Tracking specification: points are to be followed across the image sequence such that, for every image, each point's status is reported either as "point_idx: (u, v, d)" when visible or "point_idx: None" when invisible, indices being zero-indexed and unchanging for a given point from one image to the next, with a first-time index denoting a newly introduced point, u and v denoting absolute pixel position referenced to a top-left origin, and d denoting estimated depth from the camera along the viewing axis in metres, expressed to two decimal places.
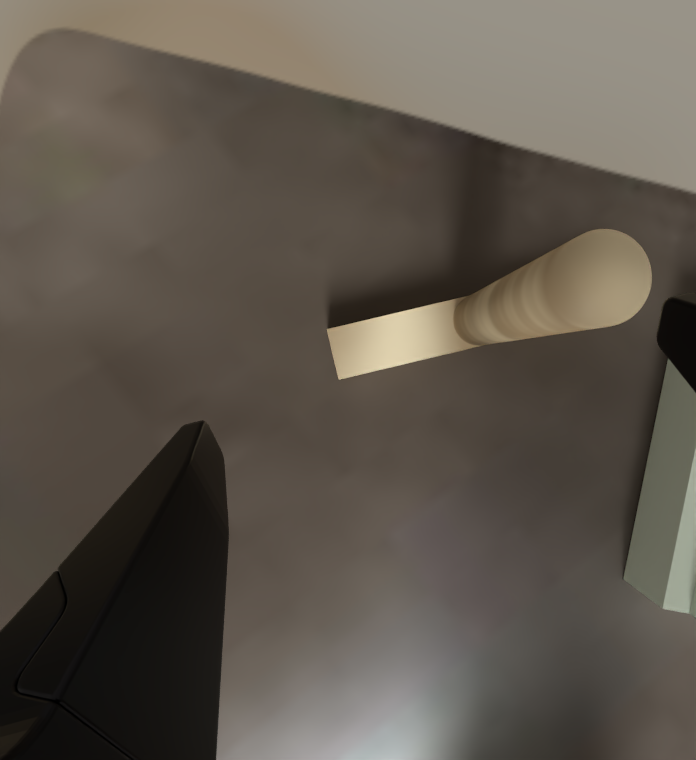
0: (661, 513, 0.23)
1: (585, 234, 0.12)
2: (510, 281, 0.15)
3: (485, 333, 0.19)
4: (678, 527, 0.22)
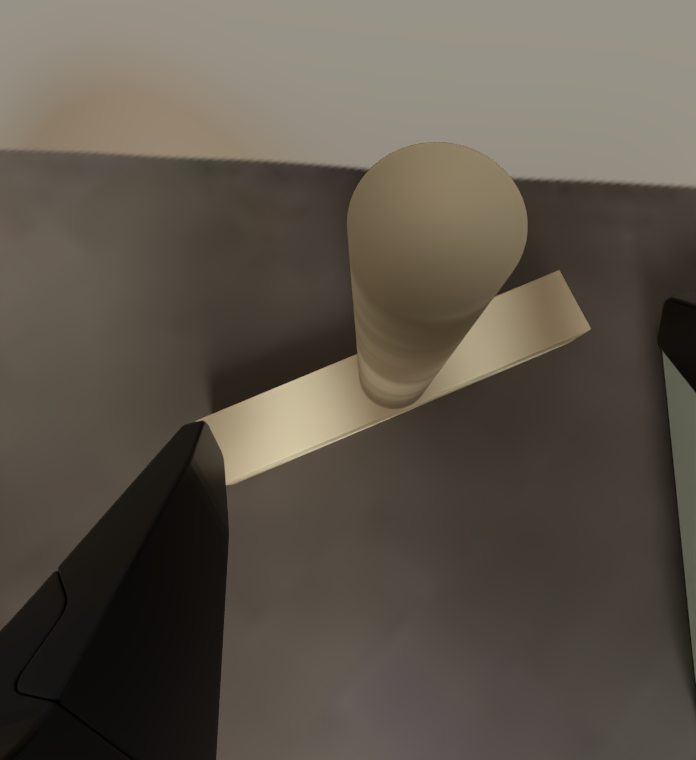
0: None
1: (388, 158, 0.07)
2: None
3: (377, 385, 0.13)
4: None
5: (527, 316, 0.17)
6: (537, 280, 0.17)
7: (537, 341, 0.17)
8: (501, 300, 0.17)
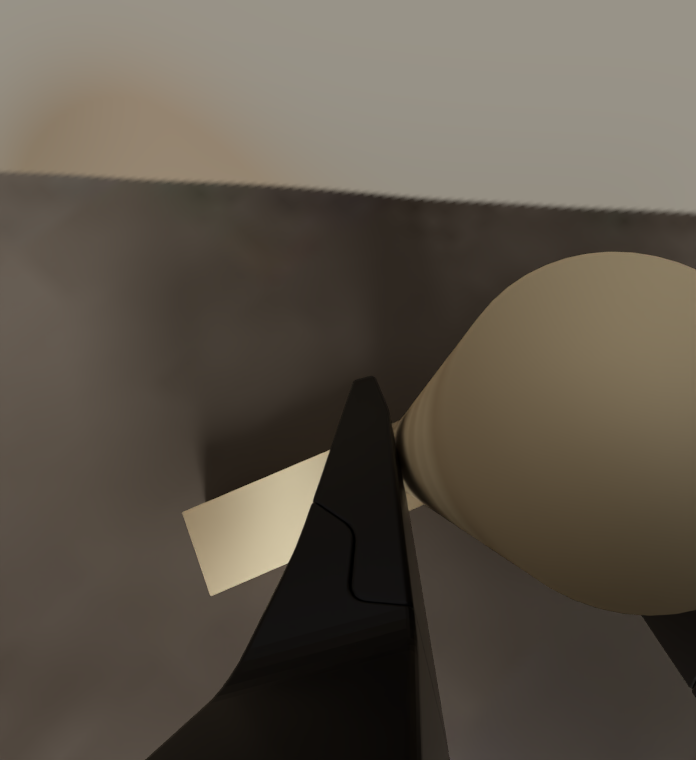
0: None
1: (523, 283, 0.03)
2: (408, 419, 0.07)
3: None
4: None
5: None
6: None
7: None
8: None
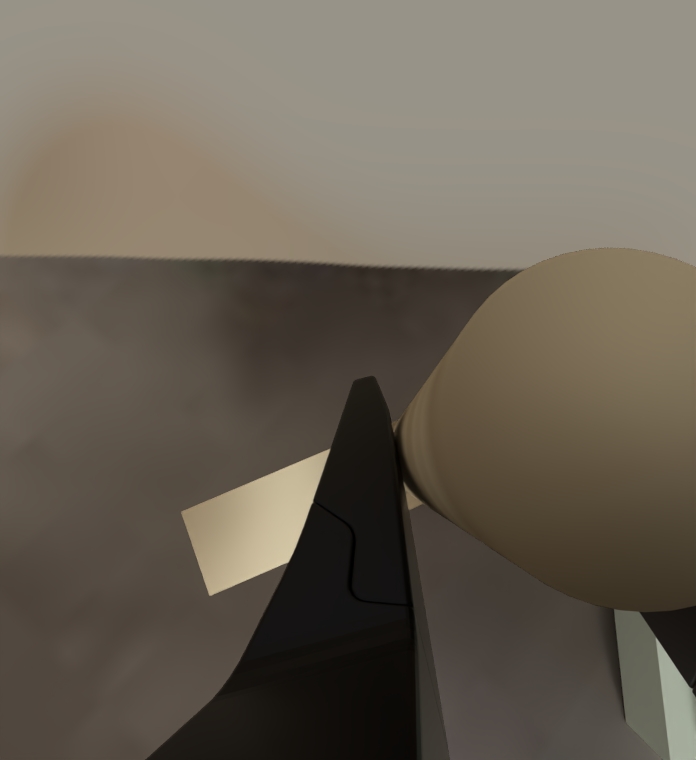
0: (637, 633, 0.19)
1: (519, 279, 0.03)
2: (406, 418, 0.07)
3: None
4: (657, 653, 0.18)
5: None
6: None
7: None
8: None
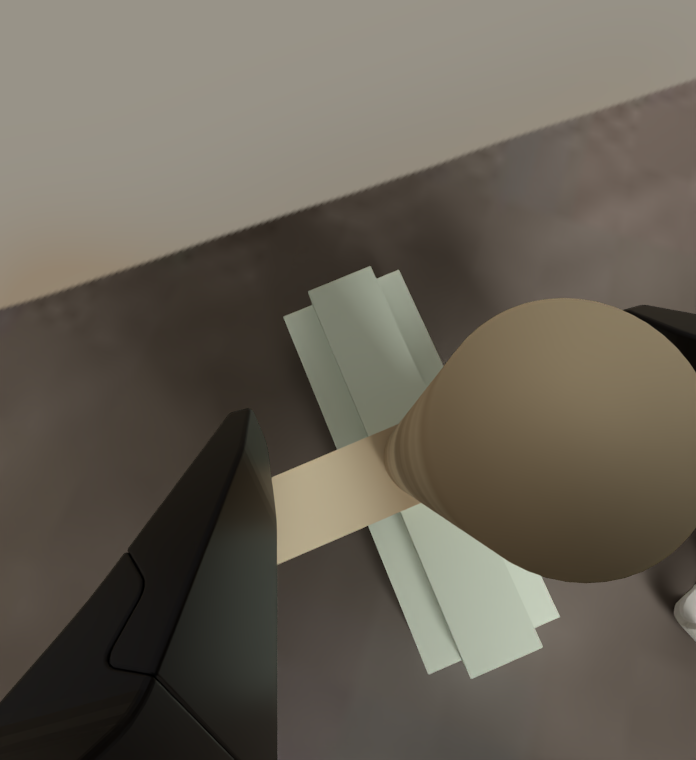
0: None
1: (491, 323, 0.04)
2: (404, 426, 0.08)
3: None
4: (385, 568, 0.17)
5: None
6: None
7: None
8: None
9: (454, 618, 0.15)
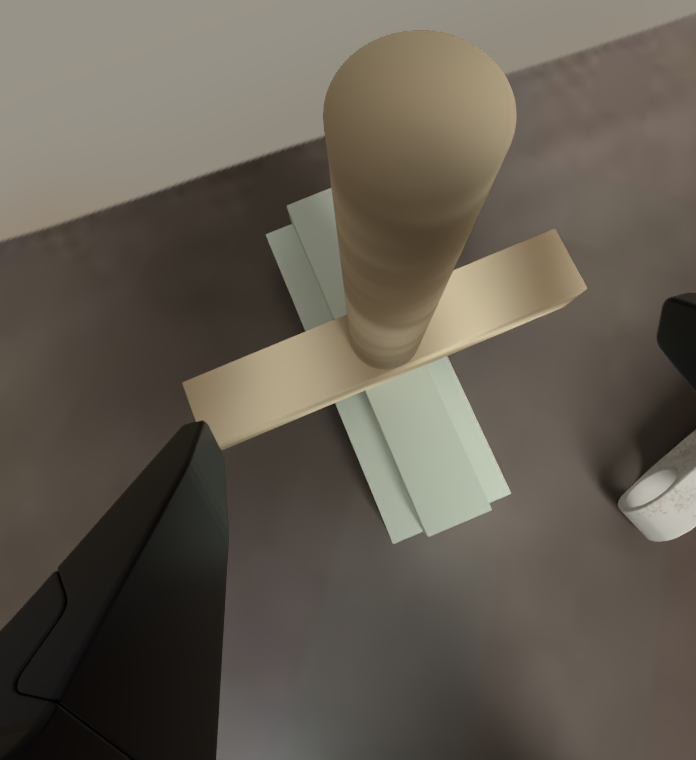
0: None
1: (367, 46, 0.06)
2: None
3: (366, 335, 0.13)
4: None
5: (522, 275, 0.16)
6: (532, 239, 0.17)
7: (532, 300, 0.16)
8: (495, 259, 0.17)
9: (414, 485, 0.17)
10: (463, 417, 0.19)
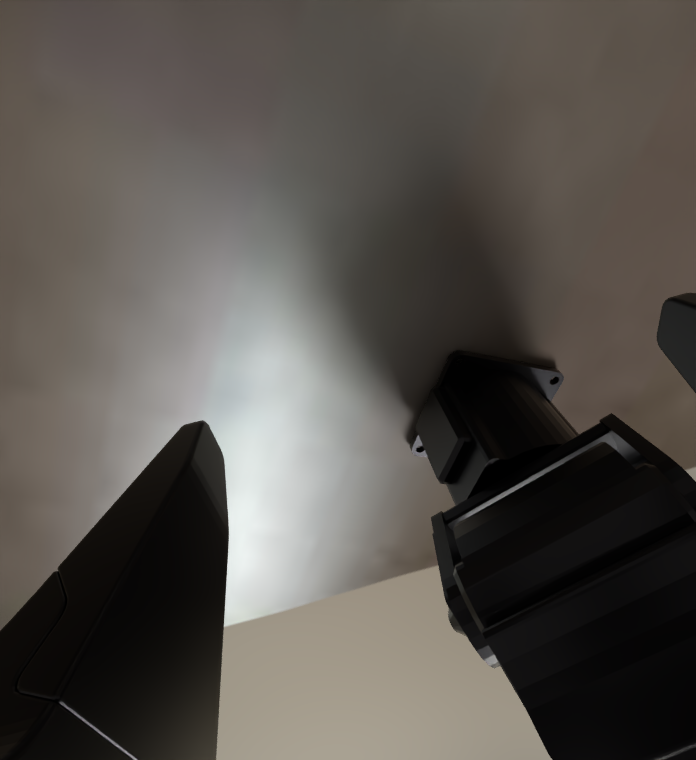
0: None
1: None
2: None
3: None
4: None
5: None
6: None
7: None
8: None
9: None
10: None
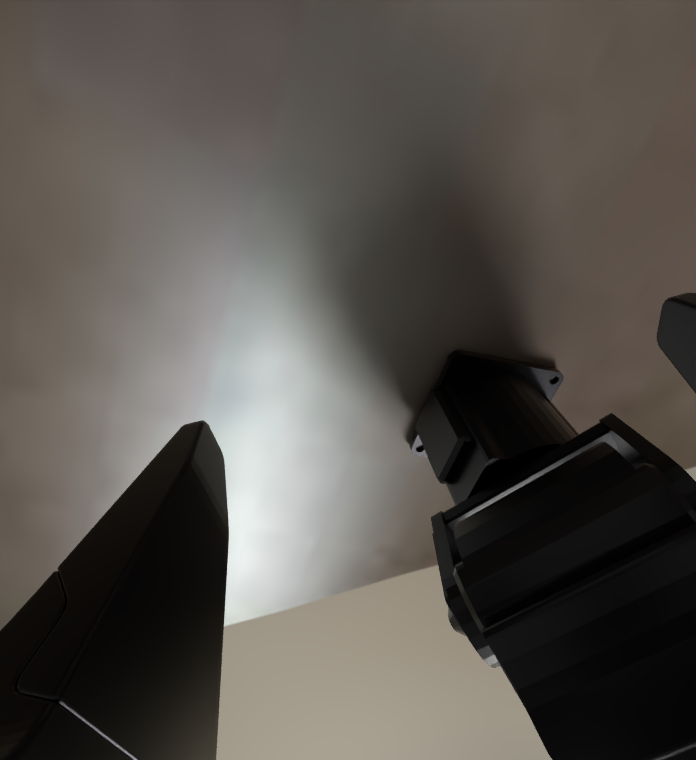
0: None
1: None
2: None
3: None
4: None
5: None
6: None
7: None
8: None
9: None
10: None
